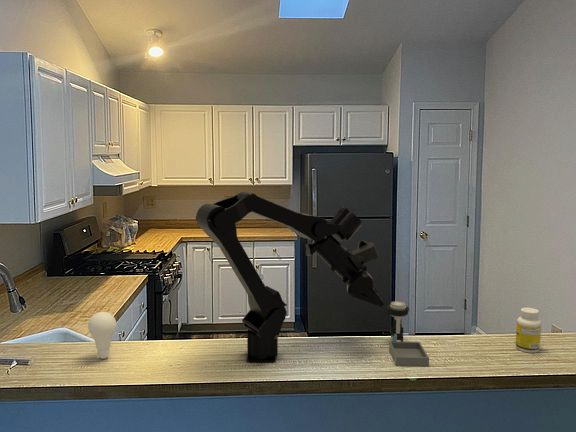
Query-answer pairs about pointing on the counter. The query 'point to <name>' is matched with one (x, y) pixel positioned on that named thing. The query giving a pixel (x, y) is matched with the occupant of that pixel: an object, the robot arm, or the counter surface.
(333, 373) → the counter surface
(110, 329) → the lightbulb
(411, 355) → the tray
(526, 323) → the supplement bottle
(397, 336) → the push button
